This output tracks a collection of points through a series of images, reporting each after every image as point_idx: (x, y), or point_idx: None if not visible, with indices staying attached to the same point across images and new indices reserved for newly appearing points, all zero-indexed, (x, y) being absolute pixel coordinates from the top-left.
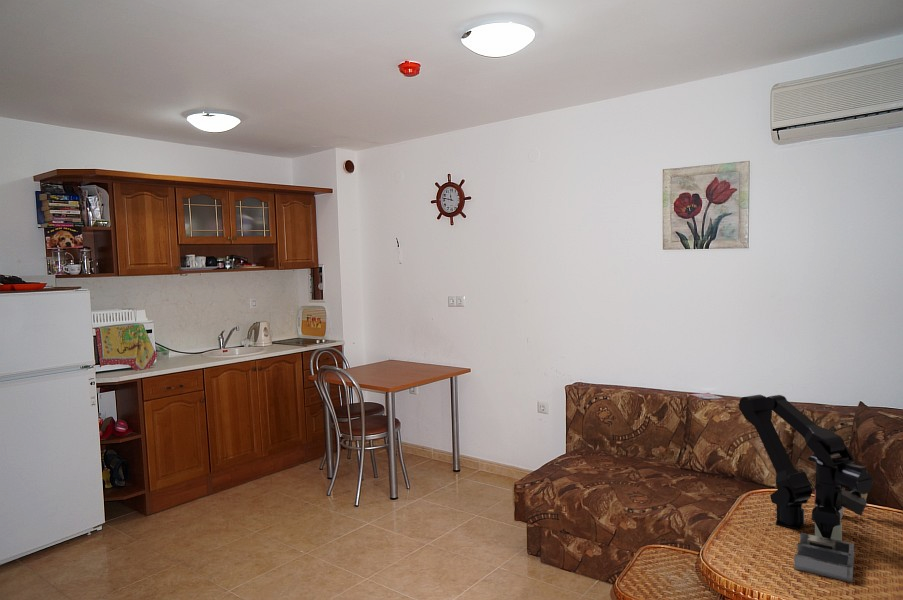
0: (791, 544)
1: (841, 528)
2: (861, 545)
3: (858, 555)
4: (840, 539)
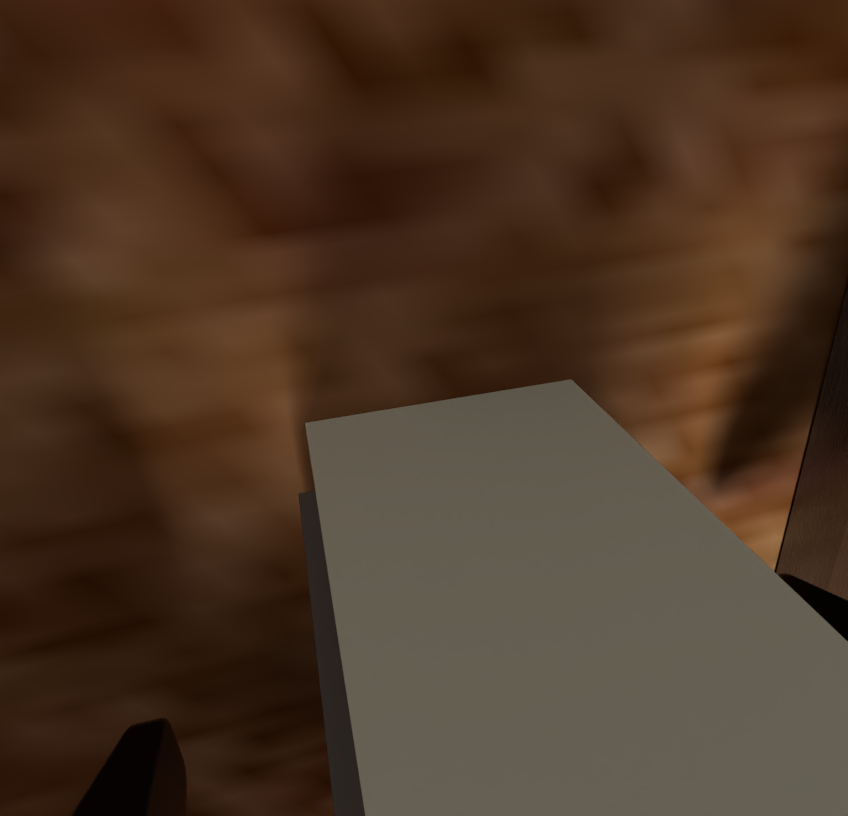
0: None
1: (539, 685)
2: (188, 2)
3: (810, 28)
4: (663, 475)
